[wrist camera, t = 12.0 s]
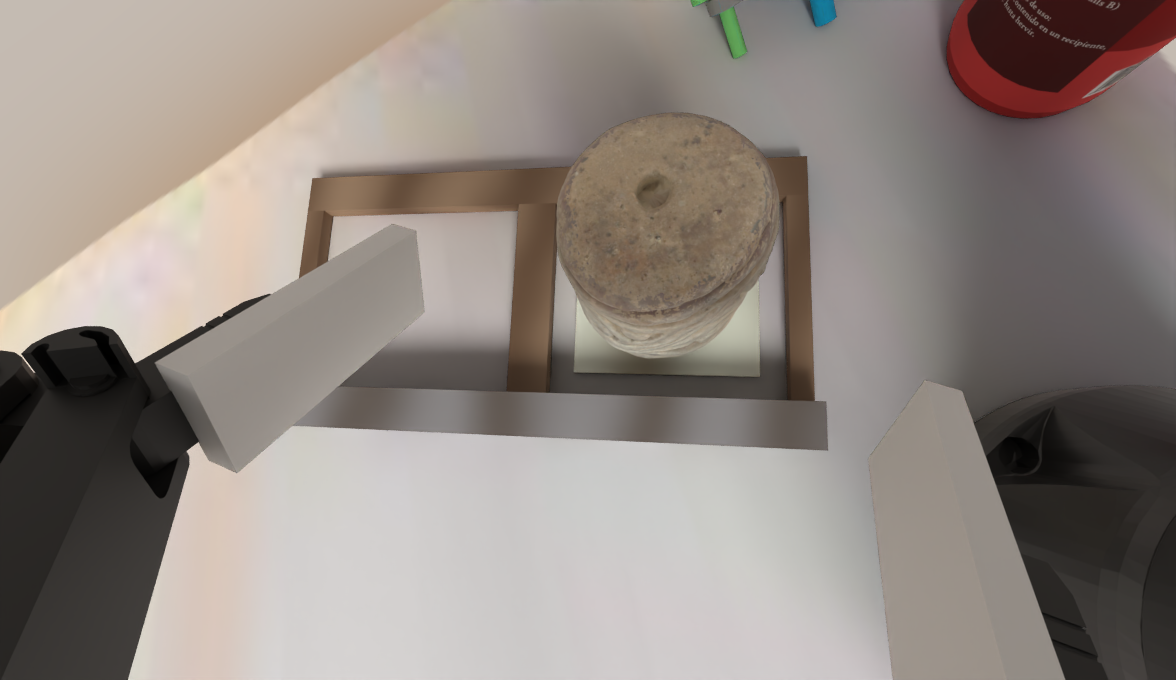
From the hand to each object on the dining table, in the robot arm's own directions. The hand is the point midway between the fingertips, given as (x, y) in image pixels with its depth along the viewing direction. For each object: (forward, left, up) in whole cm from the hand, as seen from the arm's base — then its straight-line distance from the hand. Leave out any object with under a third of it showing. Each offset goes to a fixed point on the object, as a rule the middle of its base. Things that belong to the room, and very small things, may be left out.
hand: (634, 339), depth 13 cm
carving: (-1, -4, -12) cm, 13 cm away
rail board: (+6, -4, -12) cm, 14 cm away
